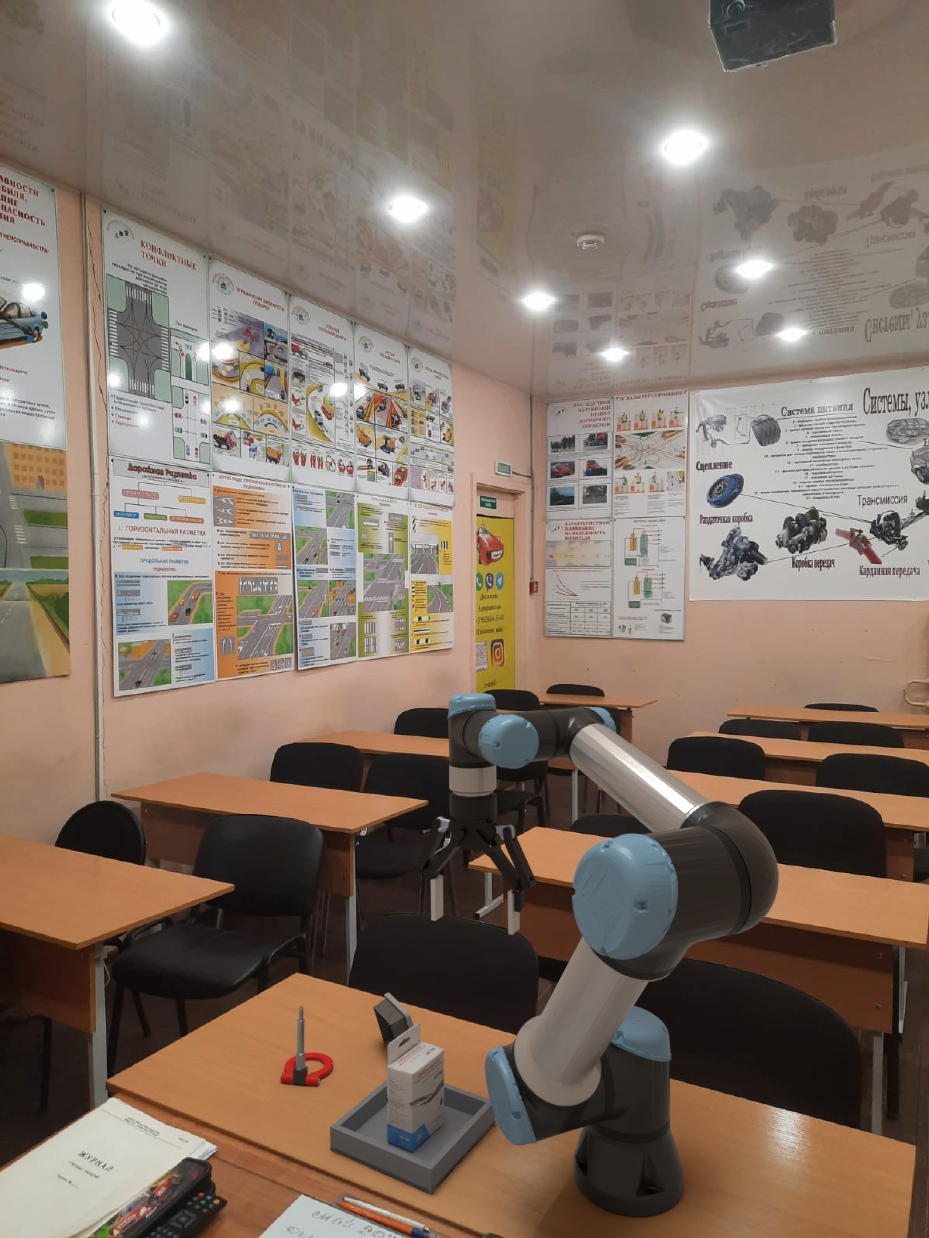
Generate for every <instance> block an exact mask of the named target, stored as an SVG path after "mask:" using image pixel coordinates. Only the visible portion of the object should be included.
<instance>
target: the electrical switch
mask: <svg viewBox="0 0 929 1238" xmlns="http://www.w3.org/2000/svg"><path fill="white" fill-rule="evenodd" d="M383 996H384V999H383V1000H380V1002H379V1003H377V1004H375V1005H374V1006H372V1008H373V1011H374V1014H375V1018H376V1021H377V1024H378V1027H379V1031H380V1034H381V1038H382V1041H383V1043H384V1045H386V1044H387V1045H386V1047H387V1048H388V1044H389V1043H390V1042H392V1041H393V1040H394V1039H396V1038H397V1037H398V1036H400V1035H401V1034H403V1033H404V1032H405V1031H407V1030H408V1029H410V1028H411V1027H413V1026H414V1025H415V1024H414V1023H413V1020H412V1019H413V1018H412V1016H411V1014H410V1012H409V1011H408V1009H406V1008H405V1006H403V1004H401V1003H400V1002H399V1001H398V999H397V998H395V997H394V996H393V994H391V993H390V992H387V993H384V995H383ZM408 1041H409V1037H408V1038H407V1039H406V1038H404V1039H403V1041H402V1042H401V1043H400V1044H399V1047H401V1046H402V1045H404V1044H405V1043H406V1042H408Z"/></svg>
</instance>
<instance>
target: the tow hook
mask: <svg viewBox="0 0 929 1238" xmlns="http://www.w3.org/2000/svg"><path fill="white" fill-rule="evenodd" d="M296 1034H297V1035H296V1038H297V1039H296V1042H297V1043H296V1044H297V1045H296V1047H297V1049H296V1052H295V1055H294V1056H293V1057H290V1058H289V1059H288V1060H286V1062H285V1063H284V1067H283V1070H284V1071H283V1072H281V1075H280V1082H281V1083H285V1084H293V1085H299V1086H307V1085H308V1086H318V1085H320V1083H321V1079H323V1078H324V1077H326V1076H328V1075H330V1074H331V1072H332V1071H333V1069H334V1061H333V1058H331V1056H329V1055H327V1054H325V1053H322V1052H321V1053H320V1052H305V1018H304V1006H303V1005H301V1006H299V1007H298V1019H297V1033H296ZM308 1061H314V1062H319V1061H320V1062H319V1063H322V1065H323V1066H322V1067H321V1068H320V1069H318V1070H315V1071H312V1072H310V1073H309V1066H306V1062H308Z"/></svg>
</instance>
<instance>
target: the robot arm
mask: <svg viewBox="0 0 929 1238" xmlns="http://www.w3.org/2000/svg"><path fill="white" fill-rule="evenodd" d="M497 710H498V709H497V704H496V699H495V697H494V696H493V695H492V694H489V693H479V692H471V693H468V692H467V693H459V694H458V693H457V694H454V695H452V696H451V697H450V698H449V700H448V713H447V721H448V723H447V724H448V758H449V760H448V761H449V764H448V765H449V767H448V768H449V769H448V770H449V771H448V772H449V773H448V775H449V776H448V779H449V780H448V783H449V786H448V787H449V790H450V791H451V792H450V794H449V815H450V819H447V818H446V817H445V816H444V815H441V816H438V817H436V818H434V819H433V820H432V822H431V833H430V835H429V837H428V839H427V842H426V843H425V846H424V848H423V850H422V852H421V855H420V857H419V859H418V862H417V864H416V866H415V868H414V869H415V872H416V873H417V874H421V875H423V876H424V877H425V880H426V881H425V882H426V896H427V898H430V910H431V911H430V913H431V914H430V915H431V916H430V919H431V921H434V922H435V921H438V919H440V918H442V917H443V916H444V876H443V875H441V874H440V873H441V871H442V869H443V868H444V867H445V865H446V864H447V863H448V862H449V860H451V859H452V857H453V856H454V855H455V854H456V853H457V851H458V850H459V849H462V851H473V852H475V853H481V852H483V853H484V854H485V856H486V857H489V858H490V860H491V862H493V864H494V866H495V867H496V869H497V870H498V871H499V873H500V874H501V875H502V877H503V878H504V880H505V881H506V882H507V884H508V885H509V886H510V890H508V891H507V925H508V926H507V927H508V928H507V930H508V931H507V933H508V935H510V936H511V935H512V936H513V935H514V934H515V933H517V932H518V931H519V930H520V928H521V927H520V926H521V925H520V919H521V917H520V915H521V913H522V911H524V910H525V905H526V902H525V892H526V890H530V889H531V888H532V887H534V886H535V885H536V884H537V879H536V877H535V874H534V873H533V870H532V868H531V866H530V863H529V862H528V859H527V857H526V855H525V853H524V851H523V847H522V845H521V844H520V841H519V839H518V834H517V826H516V825H515V824H514V823H509V824H508V825H499V824H498V821H497V815H498V809H497V808H498V804H497V803H498V800H497V797H498V795H497V792H495V790H496V789H497V766H498V767H499V768H502V769H506V768H507V769H511V770H513V769H515V770H516V769H520V768H522V767H525V766H526V765H528V764H529V763H532V762H541V761H554V760H563V759H564V760H568V761H569V762H570V763H571V764H572V765H574V766H575V767H576V768H577V769H578V770H579V771H581V772H582V773H583V774H584V775H585V776H587V777H588V778H589V779H590V780H591V781H592V782H594V783H595V784H596V785H597V786H598V787H600V788H601V789H602V790H603V791H604V792H605V793H607V794H608V795H609V796H610V797H611V798H612V799H613V800H614V801H616V802H617V803H618V804H619V805H621V807H622V808H624V809H625V811H627V812H628V813H629V814H631V815H632V816H633V817H635V818H636V820H638V821H639V822H640V823H641V824H642V825H644V827H646V828H647V829H648V830H649V831H651V832H648V833H641V834H639V833H624V834H621V835H619V836H615V837H613V838H611V839H610V838H609V839H606V840H605V839H604V840H601V841H600V842H596V843H594V845H592V846H590V847H589V848H588V849H587V850H586V851H585V852H584V854H583V855H582V856H581V857H580V860H579V861H578V864H577V866H576V868H575V871H574V875H573V879H572V888H574V891H575V892H574V893H575V894H573V895H572V896H571V899H572V900H571V902H572V910H573V914H574V918H575V922H576V926H577V927H578V930H579V933H580V934H581V938H580V940H579V942H578V943H577V946H576V947H575V950H574V952H573V954H572V955H571V958H570V959H569V961H568V962H567V965H566V967H565V969H564V971H563V973H562V975H561V976H560V978H559V980H558V982H557V984H556V986H555V988H554V990H553V992H552V994H551V995H550V996H549V997H550V998H549V999H548V1001H547V1003H546V1005H545V1006H544V1009H543V1010H542V1013H541V1014H540V1015H539V1014H538V1015H537V1016H534V1017H532V1018H530V1019H528V1020H527V1021H526V1022H525V1023H523V1025H522V1027H520V1029H519V1031H518V1032H517V1034H516V1037H515V1038H514V1041H513V1042H512V1043H508V1044H506V1045H505V1044H504V1045H502V1044H498V1045H497V1046H496V1047H494V1048H492V1049H489V1050H488V1052H487V1054H486V1057H485V1060H484V1073H485V1074H484V1075H485V1081H486V1082H485V1083H486V1089H487V1093H488V1099H490V1102H491V1106H492V1109H493V1112H494V1115H495V1121H496V1122H497V1125H498V1127H499V1129H500V1131H501V1133H502V1135H503V1136H504V1137H505V1139H506V1140H507V1141H508V1142H509V1143H510V1144H512V1145H514V1146H518V1147H520V1146H525V1145H531V1144H534V1145H535V1144H537V1143H538V1142H540V1141H543V1140H547V1139H549V1138H552V1137H555V1136H556V1137H557V1136H559V1135H563V1134H566V1133H570V1132H572V1131H575V1130H578V1129H581V1132H580V1134H579V1137H578V1141H577V1144H576V1146H575V1149H574V1155H573V1176H574V1181H575V1183H576V1185H577V1187H578V1189H579V1190H580V1192H581V1193H582V1194H583V1195H584V1196H585V1197H586V1198H587V1199H589V1200H590V1201H591V1202H592V1203H594V1204H595V1205H596V1206H598V1207H600V1208H603V1209H605V1210H607V1211H608V1212H612V1213H615V1214H617V1215H622V1216H630V1217H647V1216H654V1215H658V1214H660V1213H664V1212H665V1211H667V1210H669V1209H671V1208H672V1207H673V1206H674V1205H675V1204H677V1202H679V1199H680V1198H681V1197H682V1195H683V1192H684V1191H683V1190H684V1170H683V1164H682V1163H683V1162H682V1160H681V1156H680V1153H679V1150H678V1148H677V1145H676V1142H675V1138H674V1136H673V1133H672V1130H671V1117H670V1116H671V1060H672V1053H671V1044H670V1033H669V1030H668V1028H667V1026H666V1025H665V1023H664V1021H663V1020H661V1019H660V1018H659V1017H658V1016H656V1014H653V1013H652V1012H651V1011H648V1010H646V1009H644V1008H642V1007H639V1006H635V1004H636V1003H637V1001H638V999H639V998H640V996H641V995H642V993H643V991H644V990H645V989H646V987H647V985H648V983H649V982H656V981H659V980H663V979H664V978H667V977H668V976H669V975H670V974H671V973H673V972H674V970H675V969H676V967H678V965H679V963H680V961H681V960H682V959H683V957H684V955H685V954H686V953H687V951H688V950H689V948H690V947H691V946H693V945H695V944H696V943H701V942H704V941H709V940H713V939H718V938H723V937H727V936H731V935H732V936H733V935H737V934H741V933H743V932H745V931H749V930H750V929H752V928H753V927H755V926H756V925H758V924H759V923H760V922H761V921H762V920H764V918H766V916H767V914H769V912H770V911H771V909H772V907H773V905H774V902H775V901H776V899H777V895H778V890H779V881H780V872H779V866H778V860H777V857H776V855H775V852H774V849H773V847H772V845H771V844H770V842H769V840H768V839H767V837H766V836H765V834H764V833H763V832H762V830H760V828H759V827H758V826H757V825H756V824H755V823H754V822H753V821H752V820H750V818H748V817H747V816H746V815H745V814H743V813H742V812H741V811H739V810H738V809H736V808H735V807H733V806H732V805H731V804H729V803H727V802H726V801H722V800H718V799H717V800H716V799H715V800H714V799H711V800H709V799H708V798H707V797H705V796H704V795H703V794H701V793H699V792H698V791H697V790H695V789H694V788H692V787H691V786H690V785H689V784H687V783H686V782H684V780H682V779H680V778H679V777H677V776H676V775H675V774H673V773H672V772H671V771H669V770H668V769H667V768H664V766H662V765H661V764H659V763H658V762H657V761H655V760H654V759H652V758H651V757H649V756H648V755H647V754H646V753H644V752H643V751H641V750H640V749H638V748H637V747H636V746H635V745H633V744H631V742H629V741H627V740H626V739H624V737H622V736H620V735H619V734H618V733H617V727H616V723H615V721H614V719H612V718H611V714H610V712H609V711H607V710H606V709H604V708H602V707H597V706H595V707H594V706H593V707H592V706H578V707H570V708H568V707H567V708H558V709H546V710H545V709H543V710H529V711H513V712H510V711H509V712H499V711H497ZM447 830H448V831H449V832H450V833H451V836H452V838H451V840H450V841H449V842H448V843H447V845H446V847H444V849H443V850H442V851H441V853H440V854H439V855H438V857H437V858H436V859H435V860H434V862H432V861H433V859H434V857H435V854H436V852H437V850H438V848H439V846H440V844H441V842H442V839H443V837H444V834H445V833H446V832H447ZM498 835H499V836H500V840H502V841H503V842H504V846H505V849H506V850H507V853H508V856H509V858H510V859H509V858H508V856H507V855H506V854H505V852H504V850H503V849H502V845H501V844H500V842H499V840H497V836H498ZM510 860H511V861H510ZM438 874H439V875H438Z"/></svg>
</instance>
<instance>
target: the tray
mask: <svg viewBox="0 0 929 1238" xmlns="http://www.w3.org/2000/svg"><path fill="white" fill-rule="evenodd" d="M495 1124H496V1118H495V1115H494V1112H493V1109H492V1106H491V1102H490V1098H489V1097H488V1098H487V1097H484V1096H482V1095H479V1094H476V1093H474V1092H470V1091H468V1090H465V1089H462V1088H460V1087H456V1086H453V1085H451V1084H448V1083H445V1082H444V1124H443V1125H441V1126H440V1127H439V1128H438V1129H437V1130H436V1131H435V1132H434V1133H433V1134H432V1135H431V1136H430V1137H429V1138H427V1139H426V1140H425V1141H424V1142H423V1143H422V1144H421V1145H420V1146H419V1147H418V1148H417V1149H416V1150H415V1151H413V1152H410V1151H408V1150H406V1149H403V1148H401V1147H398V1146H396V1145H394V1144H391V1143H389V1142H388V1141H387V1079H386V1080H384V1081H383V1082H382V1083H381V1084H380V1085H379V1086H377V1087H375V1089H373V1090H372V1091H371V1092H370V1093H369V1094H367V1095H366V1096H364V1098H363V1099H361V1100H360V1102H358V1103H357V1104H355V1106H354V1107H352V1108H351V1109H349V1111H347V1112H346V1113H345V1114H344V1115H343V1116H341V1117H340V1118H338V1119H337V1120H336V1122H334V1123H333V1124H332V1125H331V1126H330V1127H329V1135H330V1137H329V1141H330V1142H329V1143H330V1145H329V1146H330V1147H329V1149H330V1151H331V1150H332V1151H331V1152H333V1151H334V1153H336V1154H339V1155H340V1156H343V1157H344V1158H347V1159H348V1160H349V1159H350V1160H351V1161H354V1162H356V1163H358V1164H361V1165H363V1166H365V1167H368V1168H370V1169H371V1170H374V1171H376V1172H379V1173H381V1174H383V1175H386V1176H388V1177H390V1178H392V1179H395V1180H396V1181H399V1182H401V1183H404V1184H406V1185H409V1186H410V1187H412V1188H415V1189H417V1190H420V1191H421V1192H424V1193H426V1194H429V1195H430V1196H431V1195H433V1193H434V1192H435V1191H437V1189H438V1188H440V1186H441V1185H442V1183H444V1182H445V1180H446V1179H447V1178H448V1177H449V1176H450V1174H451V1173H452V1172H453V1171H454V1170H455V1169H456V1168H457V1167H458V1166H459V1165H460V1163H461V1162H462V1161H463V1160H464V1159H465V1157H467V1155H468V1154H469V1153H470V1152H471V1151H472V1149H474V1147H475V1146H476V1145H477V1144H478V1143H479V1142H480V1141H481V1140H482V1138H483V1137H484V1136H485V1135H486V1134H487V1133H488V1132H489V1130H491V1128H492V1127H493V1126H494V1125H495Z"/></svg>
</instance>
